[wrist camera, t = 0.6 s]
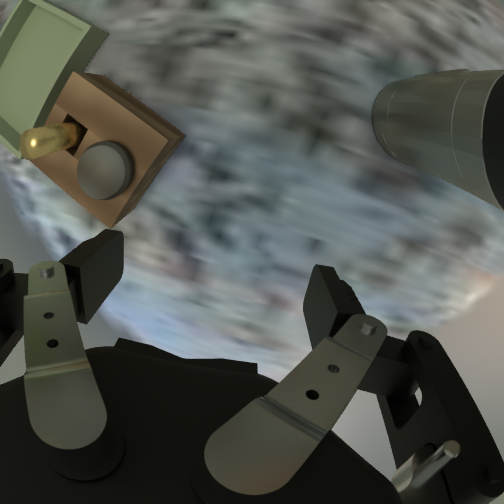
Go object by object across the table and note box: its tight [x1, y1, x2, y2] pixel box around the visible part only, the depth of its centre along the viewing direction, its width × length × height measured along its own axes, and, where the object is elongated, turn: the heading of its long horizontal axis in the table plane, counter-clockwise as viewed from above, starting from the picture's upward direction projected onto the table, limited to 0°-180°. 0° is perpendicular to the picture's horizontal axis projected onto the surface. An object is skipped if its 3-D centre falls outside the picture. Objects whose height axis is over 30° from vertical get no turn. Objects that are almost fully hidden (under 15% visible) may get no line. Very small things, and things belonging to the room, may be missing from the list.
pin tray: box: [0, 0, 109, 160], centre depth 22 cm, size 16×14×4 cm
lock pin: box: [19, 121, 88, 160], centre depth 21 cm, size 2×2×11 cm
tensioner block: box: [30, 71, 186, 229], centre depth 24 cm, size 10×12×8 cm
